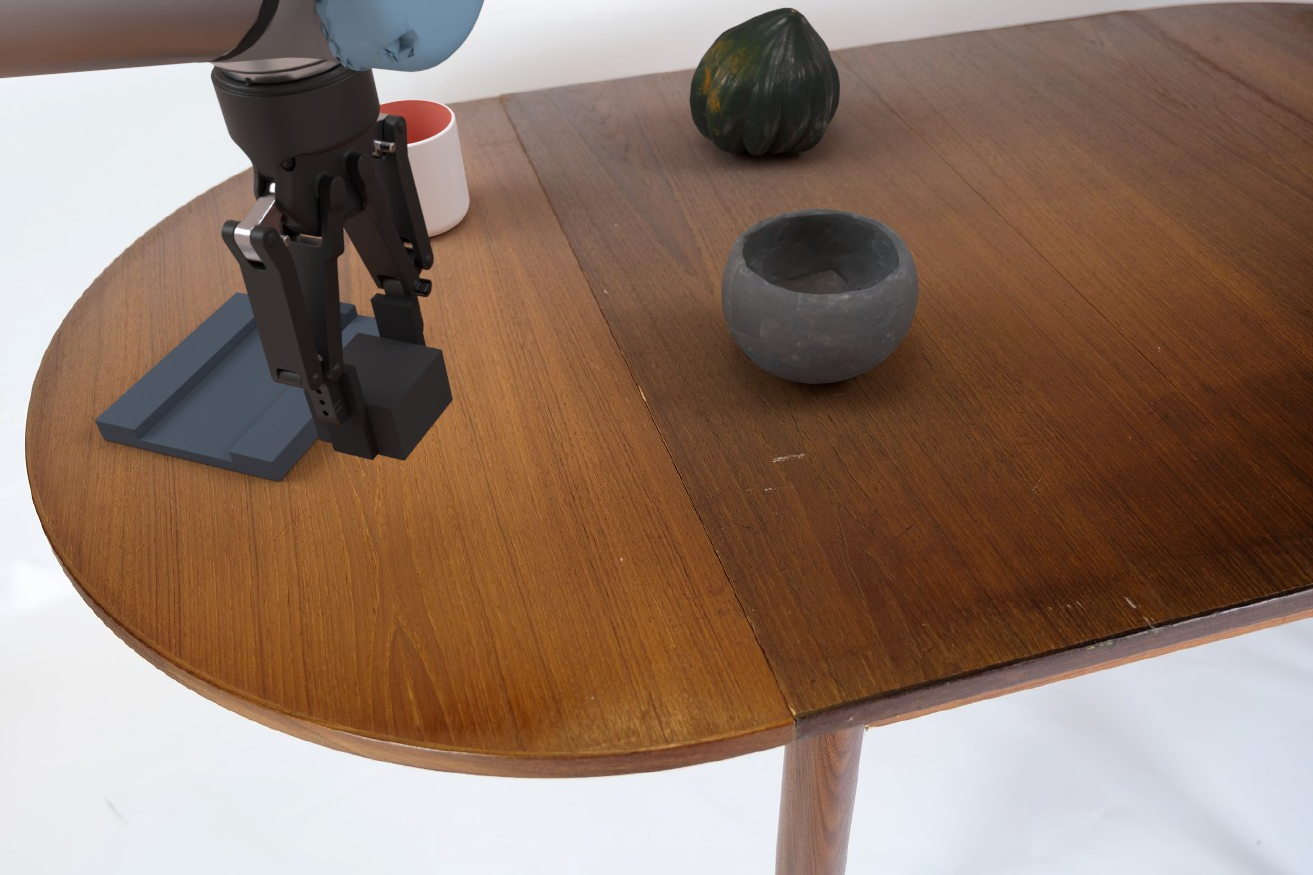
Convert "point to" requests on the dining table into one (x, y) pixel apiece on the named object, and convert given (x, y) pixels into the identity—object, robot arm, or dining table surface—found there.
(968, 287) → the dining table surface
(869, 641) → the dining table surface
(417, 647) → the dining table surface
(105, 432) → the dock pad
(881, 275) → the bowl
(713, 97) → the squash
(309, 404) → the black block
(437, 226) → the cup
